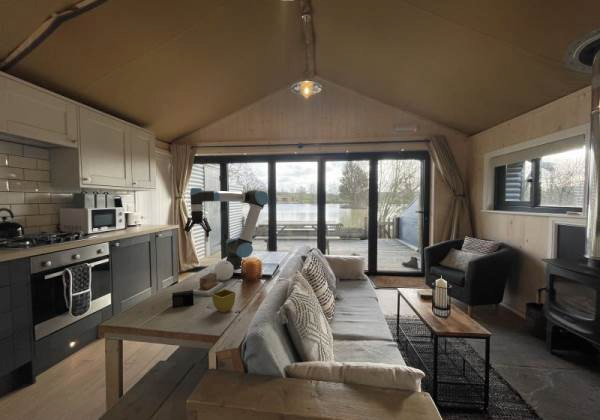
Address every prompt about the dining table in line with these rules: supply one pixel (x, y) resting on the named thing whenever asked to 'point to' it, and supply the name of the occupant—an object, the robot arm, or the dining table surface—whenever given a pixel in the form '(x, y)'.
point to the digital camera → (182, 299)
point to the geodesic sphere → (224, 270)
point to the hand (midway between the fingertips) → (198, 241)
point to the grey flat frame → (211, 291)
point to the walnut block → (208, 282)
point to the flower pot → (223, 300)
